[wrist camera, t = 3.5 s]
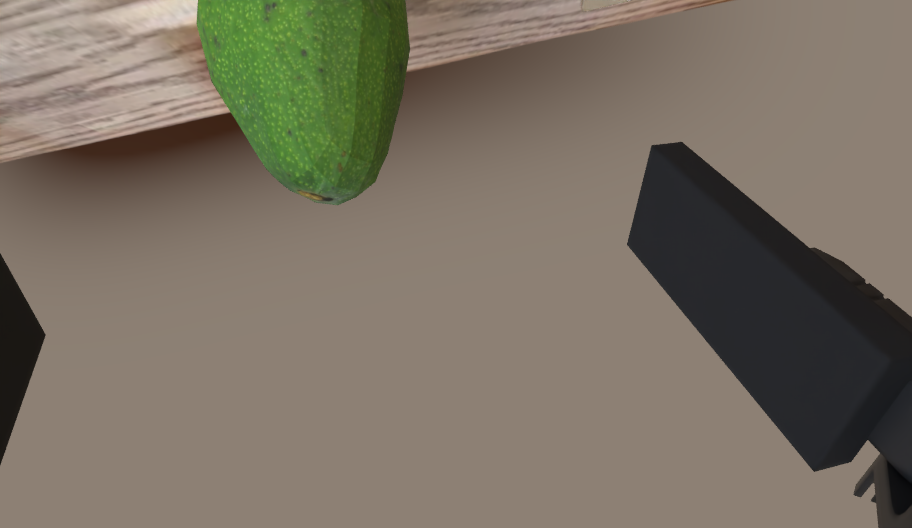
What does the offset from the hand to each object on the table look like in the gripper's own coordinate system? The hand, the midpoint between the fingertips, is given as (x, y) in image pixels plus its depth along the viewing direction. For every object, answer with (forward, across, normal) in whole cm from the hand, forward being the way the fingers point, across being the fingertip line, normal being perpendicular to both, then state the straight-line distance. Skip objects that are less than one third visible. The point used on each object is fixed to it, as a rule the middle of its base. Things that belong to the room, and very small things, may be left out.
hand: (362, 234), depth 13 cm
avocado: (+18, 0, +3) cm, 18 cm away
